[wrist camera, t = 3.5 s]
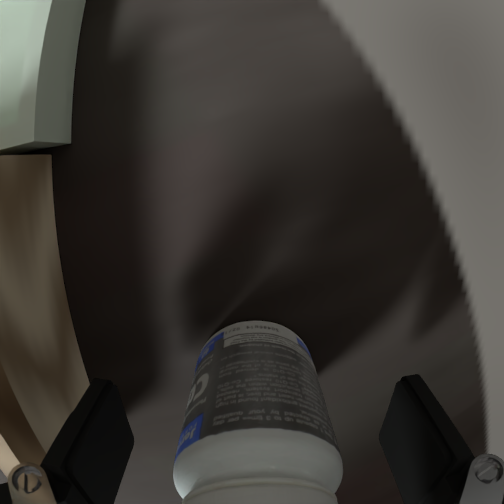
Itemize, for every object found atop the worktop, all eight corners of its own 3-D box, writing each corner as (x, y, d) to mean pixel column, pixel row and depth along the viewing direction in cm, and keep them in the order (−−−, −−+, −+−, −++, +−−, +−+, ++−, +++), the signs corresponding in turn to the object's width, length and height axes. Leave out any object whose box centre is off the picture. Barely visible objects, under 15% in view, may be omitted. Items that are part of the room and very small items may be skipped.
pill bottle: (191, 318, 12) (129, 510, 4) (313, 313, 12) (386, 501, 4) (205, 407, 13) (181, 572, 5) (307, 404, 13) (343, 566, 5)
